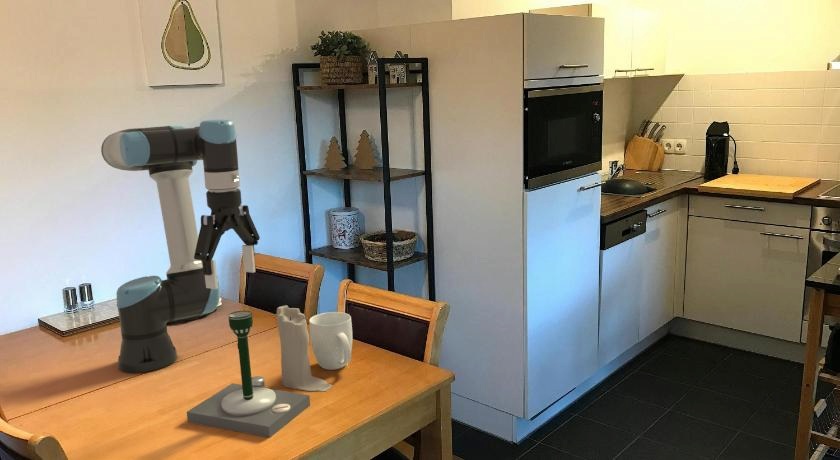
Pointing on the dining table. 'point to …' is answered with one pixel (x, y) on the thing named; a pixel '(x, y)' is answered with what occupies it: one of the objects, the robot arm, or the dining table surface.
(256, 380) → the spacer
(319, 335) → the mug
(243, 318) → the flashlight
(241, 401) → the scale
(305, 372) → the candle
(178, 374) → the dining table surface
